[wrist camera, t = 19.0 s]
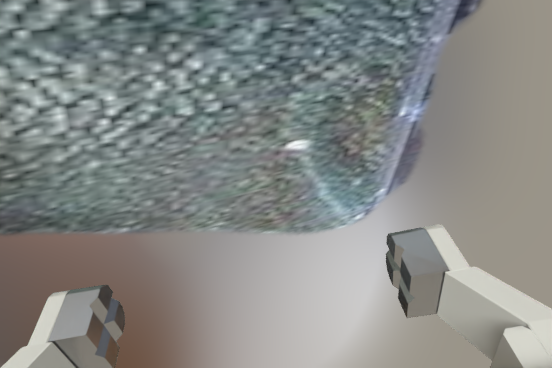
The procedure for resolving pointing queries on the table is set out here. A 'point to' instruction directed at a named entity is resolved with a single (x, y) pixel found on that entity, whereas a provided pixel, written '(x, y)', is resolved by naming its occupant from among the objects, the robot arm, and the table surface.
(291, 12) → the table surface
